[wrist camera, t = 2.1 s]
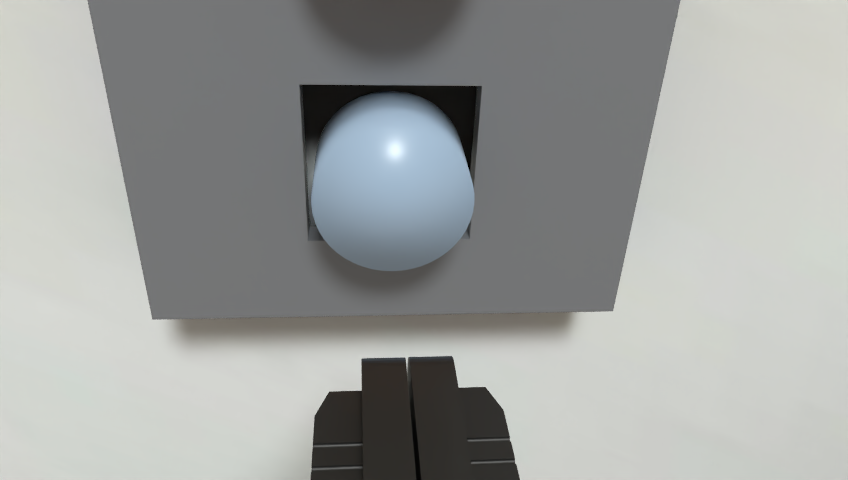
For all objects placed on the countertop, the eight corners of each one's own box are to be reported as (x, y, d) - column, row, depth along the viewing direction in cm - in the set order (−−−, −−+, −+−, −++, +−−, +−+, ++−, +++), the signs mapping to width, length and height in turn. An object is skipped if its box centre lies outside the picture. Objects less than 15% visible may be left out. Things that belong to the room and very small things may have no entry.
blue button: (467, 91, 19) (480, 128, 17) (458, 223, 21) (469, 270, 19) (312, 90, 19) (307, 127, 17) (319, 224, 21) (314, 272, 19)
